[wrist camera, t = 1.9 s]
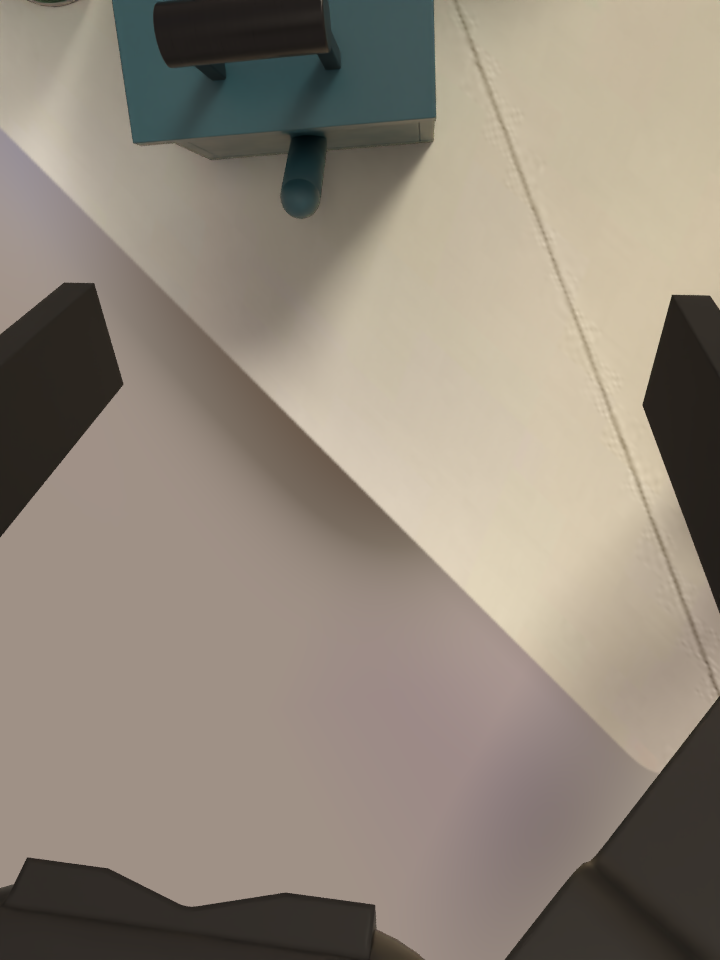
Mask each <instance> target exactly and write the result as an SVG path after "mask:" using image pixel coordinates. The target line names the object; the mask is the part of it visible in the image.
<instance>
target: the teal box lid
mask: <svg viewBox="0 0 720 960" xmlns="http://www.w3.org/2000/svg"><path fill="white" fill-rule="evenodd" d="M112 4H113V11H114V17H115V24H116V31H117V38H118V44H119V51H120V58H121V65H122V71H123V78H124V85H125V92H126V98H127V105H128V112H129V119H130V125H131V132H132V139H133V143H134V144H137V145H139V146H146V145H158V144H170V143H182V142H194V141H206V140H217V139H229V138H241V137H253V136H265V135H277V134H289V133H301V132H313V131H324V130H336V129H348V128H360V127H372V126H384V125H396V124H408V123H420V122H431V121H436V88H435V39H434V0H112Z"/></svg>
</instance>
